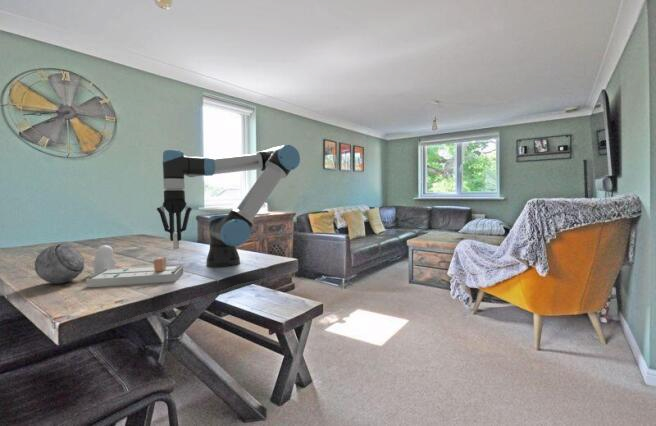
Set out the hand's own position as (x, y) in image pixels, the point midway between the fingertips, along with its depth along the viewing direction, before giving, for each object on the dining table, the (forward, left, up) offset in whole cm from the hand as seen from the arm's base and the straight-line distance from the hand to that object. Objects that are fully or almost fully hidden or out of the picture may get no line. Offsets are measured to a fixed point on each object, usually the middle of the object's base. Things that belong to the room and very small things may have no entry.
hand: (176, 248), depth 132 cm
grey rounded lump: (+42, -3, -12) cm, 44 cm away
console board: (+14, 0, -11) cm, 18 cm away
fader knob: (+6, 0, -8) cm, 10 cm away
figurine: (+32, -15, -12) cm, 37 cm away
